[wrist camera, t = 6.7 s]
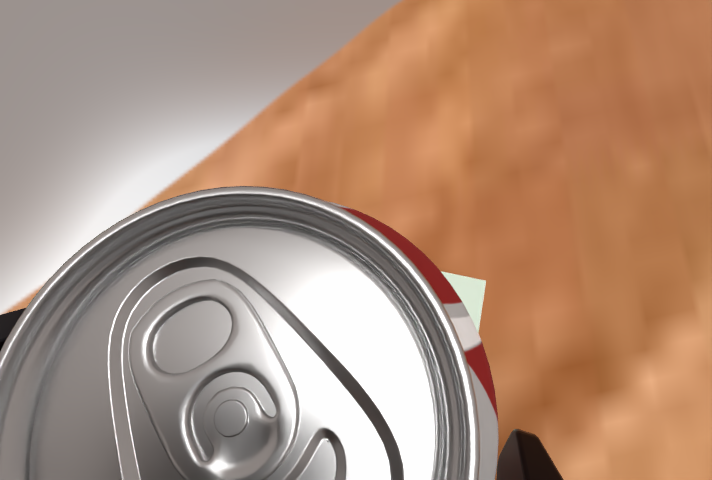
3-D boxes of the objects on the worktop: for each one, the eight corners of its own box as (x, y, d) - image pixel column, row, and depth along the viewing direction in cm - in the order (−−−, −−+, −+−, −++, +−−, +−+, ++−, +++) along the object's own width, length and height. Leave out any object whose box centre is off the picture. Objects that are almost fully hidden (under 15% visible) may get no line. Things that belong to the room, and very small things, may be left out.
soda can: (306, 529, 15) (20, 1103, 3) (218, 358, 16) (-156, 326, 5) (465, 416, 15) (703, 547, 4) (363, 265, 17) (322, 54, 6)
